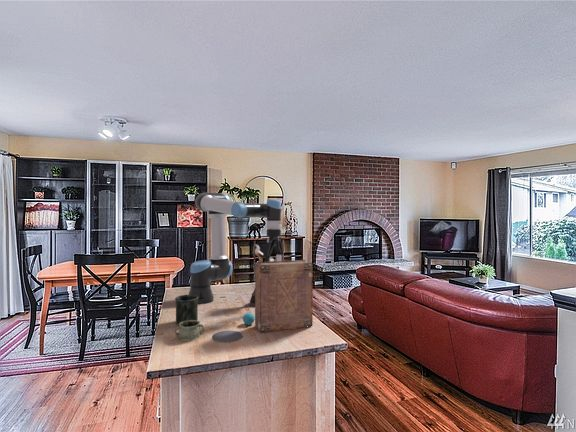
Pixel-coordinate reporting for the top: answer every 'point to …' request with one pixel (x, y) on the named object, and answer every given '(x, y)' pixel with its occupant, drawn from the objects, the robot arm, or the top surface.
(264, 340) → the top surface
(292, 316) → the book
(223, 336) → the disc
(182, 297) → the mug
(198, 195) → the robot arm
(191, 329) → the vessel
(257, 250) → the bird statue
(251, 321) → the ball
